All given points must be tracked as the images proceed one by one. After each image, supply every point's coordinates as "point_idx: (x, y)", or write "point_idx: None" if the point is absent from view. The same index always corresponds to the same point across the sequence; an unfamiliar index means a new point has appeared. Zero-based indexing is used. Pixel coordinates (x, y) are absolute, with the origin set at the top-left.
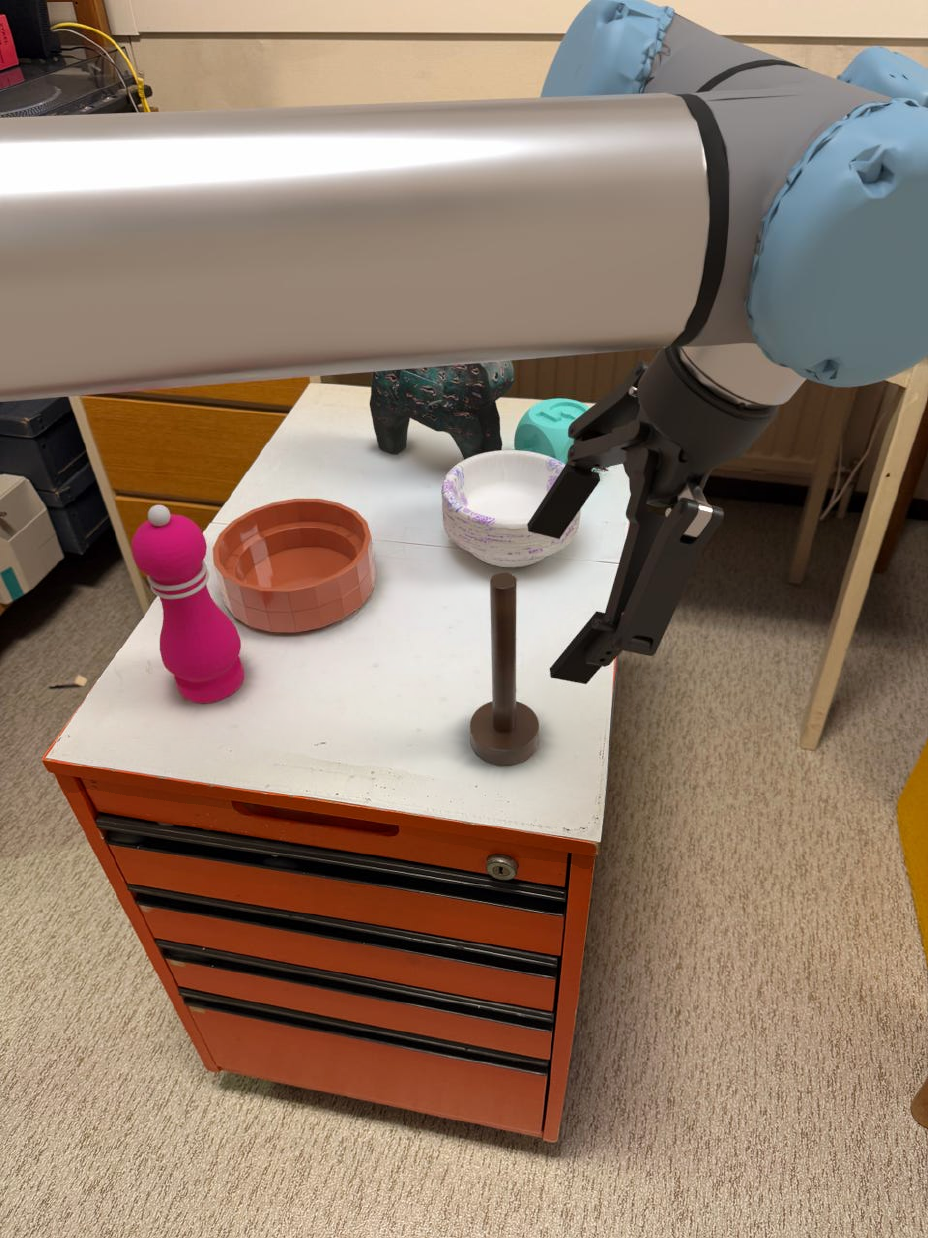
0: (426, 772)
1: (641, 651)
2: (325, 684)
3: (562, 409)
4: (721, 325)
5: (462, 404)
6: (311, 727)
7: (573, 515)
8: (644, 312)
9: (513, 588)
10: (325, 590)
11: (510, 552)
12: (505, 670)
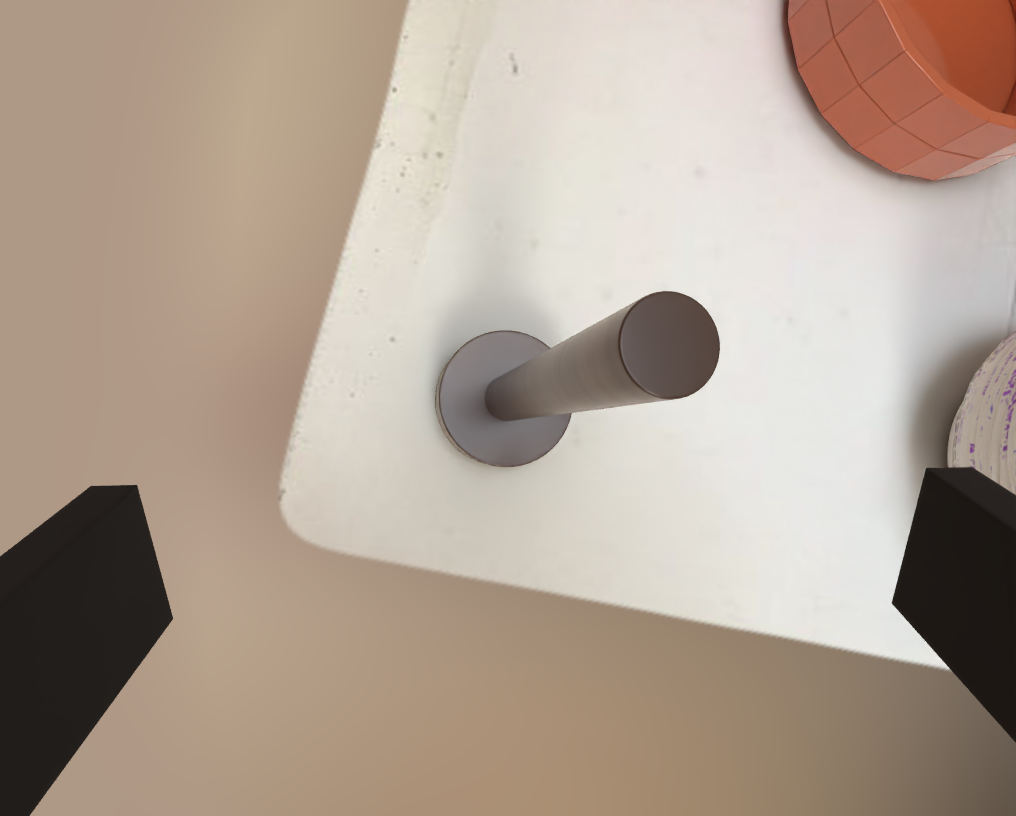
0: (432, 251)
1: None
2: (657, 77)
3: None
4: None
5: None
6: (553, 49)
7: (1006, 720)
8: None
9: (628, 383)
10: (871, 35)
11: (975, 449)
12: (521, 385)
